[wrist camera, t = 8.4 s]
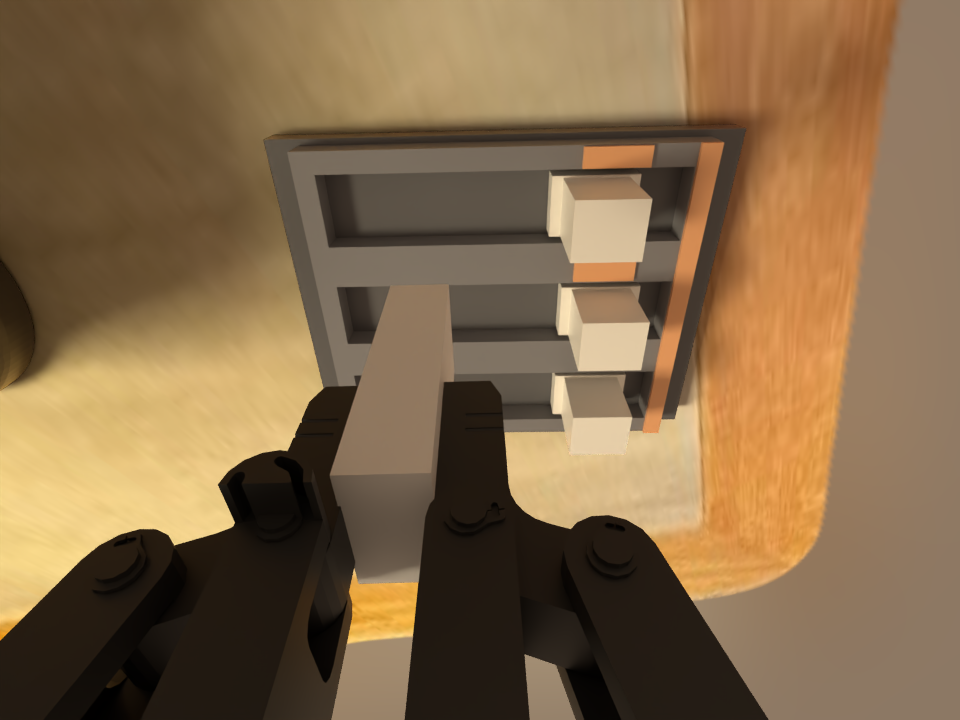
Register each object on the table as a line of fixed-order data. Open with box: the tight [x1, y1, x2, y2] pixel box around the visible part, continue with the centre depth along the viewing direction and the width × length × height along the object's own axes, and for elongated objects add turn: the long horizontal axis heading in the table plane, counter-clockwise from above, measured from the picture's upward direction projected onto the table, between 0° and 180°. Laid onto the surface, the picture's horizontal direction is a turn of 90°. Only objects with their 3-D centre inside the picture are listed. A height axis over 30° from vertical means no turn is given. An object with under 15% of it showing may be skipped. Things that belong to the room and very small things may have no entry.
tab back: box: [550, 372, 632, 455], centre depth 28 cm, size 4×3×5 cm
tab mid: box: [556, 282, 650, 371], centre depth 25 cm, size 4×3×5 cm
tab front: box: [546, 168, 652, 263], centre depth 22 cm, size 4×3×5 cm
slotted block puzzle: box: [264, 124, 746, 433], centre depth 27 cm, size 22×17×3 cm
